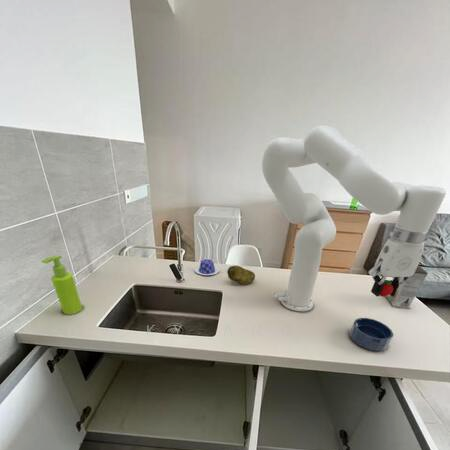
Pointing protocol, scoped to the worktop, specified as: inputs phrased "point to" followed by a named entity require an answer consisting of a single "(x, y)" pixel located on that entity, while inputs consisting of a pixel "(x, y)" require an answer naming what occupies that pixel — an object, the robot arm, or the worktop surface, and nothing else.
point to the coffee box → (408, 289)
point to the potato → (240, 275)
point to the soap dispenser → (64, 286)
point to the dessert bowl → (371, 334)
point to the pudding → (206, 268)
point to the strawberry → (386, 288)
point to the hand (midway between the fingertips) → (382, 293)
